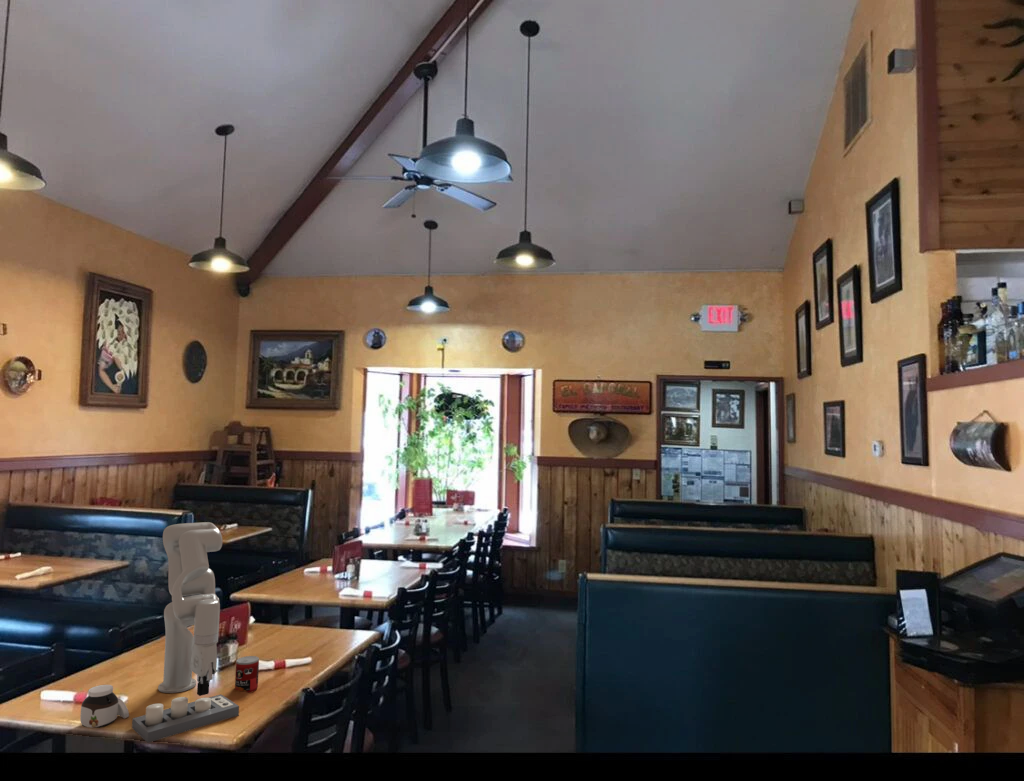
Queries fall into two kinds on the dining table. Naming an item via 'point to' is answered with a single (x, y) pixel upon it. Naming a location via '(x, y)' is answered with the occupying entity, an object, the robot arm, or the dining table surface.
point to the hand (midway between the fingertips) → (202, 694)
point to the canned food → (247, 674)
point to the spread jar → (102, 707)
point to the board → (186, 719)
